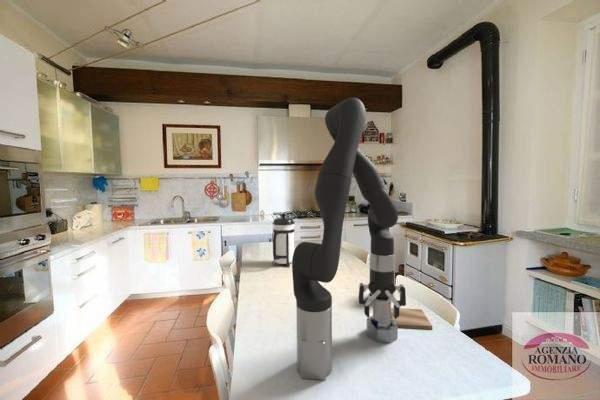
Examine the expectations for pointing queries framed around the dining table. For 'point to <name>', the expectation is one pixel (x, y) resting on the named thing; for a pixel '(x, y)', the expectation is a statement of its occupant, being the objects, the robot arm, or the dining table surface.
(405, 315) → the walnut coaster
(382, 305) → the energy drink
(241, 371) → the dining table surface
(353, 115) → the robot arm
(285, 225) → the coffee press
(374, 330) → the metal collar
